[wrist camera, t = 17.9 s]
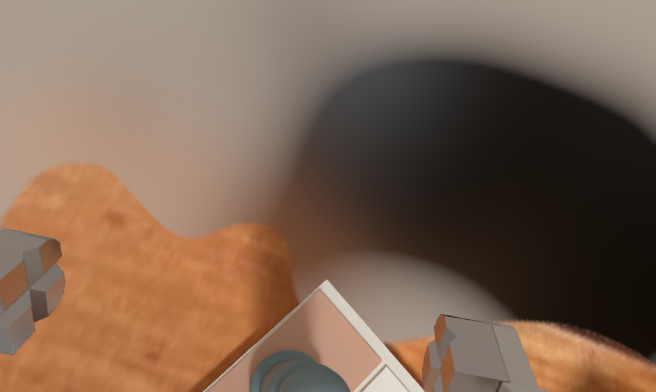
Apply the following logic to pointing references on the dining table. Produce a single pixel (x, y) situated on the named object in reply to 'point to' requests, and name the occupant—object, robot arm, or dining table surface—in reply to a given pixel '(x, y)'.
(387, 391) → the game board
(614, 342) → the dining table surface
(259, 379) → the pawn
